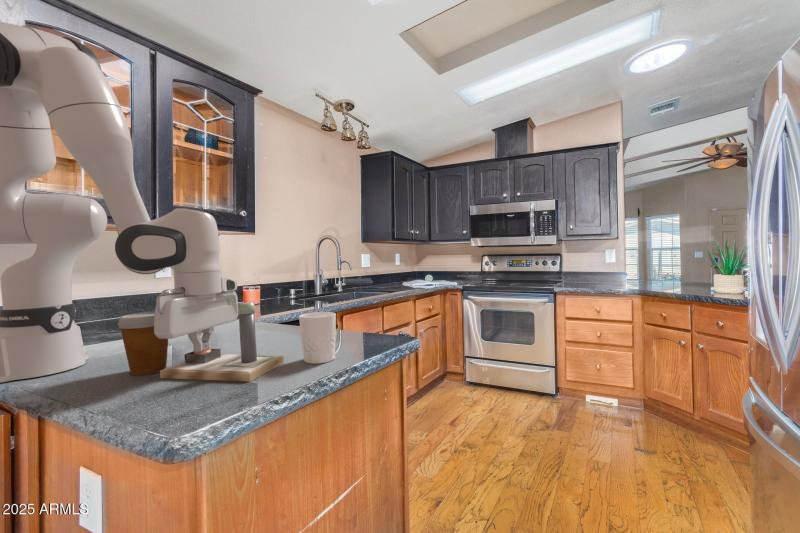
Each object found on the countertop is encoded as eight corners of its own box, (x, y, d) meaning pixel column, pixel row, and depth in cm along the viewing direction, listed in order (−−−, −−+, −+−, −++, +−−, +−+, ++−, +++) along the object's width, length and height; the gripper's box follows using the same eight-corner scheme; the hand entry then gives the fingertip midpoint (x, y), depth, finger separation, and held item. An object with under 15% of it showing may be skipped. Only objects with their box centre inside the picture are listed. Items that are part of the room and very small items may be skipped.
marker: (238, 363, 75) (234, 304, 75) (244, 359, 79) (241, 302, 78) (254, 362, 75) (250, 304, 75) (259, 358, 79) (256, 302, 78)
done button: (191, 361, 78) (190, 352, 78) (202, 357, 81) (201, 348, 81) (204, 362, 78) (203, 352, 77) (215, 357, 81) (214, 348, 81)
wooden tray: (160, 378, 74) (159, 360, 73) (204, 360, 85) (203, 345, 85) (250, 381, 69) (249, 362, 69) (283, 362, 81) (283, 346, 81)
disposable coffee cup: (185, 365, 82) (182, 311, 82) (145, 379, 73) (141, 318, 73) (151, 363, 85) (148, 310, 84) (108, 377, 76) (104, 318, 75)
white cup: (329, 365, 78) (327, 317, 77) (294, 364, 79) (292, 317, 79) (342, 355, 85) (340, 311, 85) (310, 354, 87) (308, 311, 87)
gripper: (171, 290, 68) (175, 365, 68) (241, 281, 88) (245, 339, 88) (142, 291, 69) (147, 364, 70) (218, 282, 89) (221, 339, 90)
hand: (202, 350), depth 79 cm, fingers closed, pressing on done button
